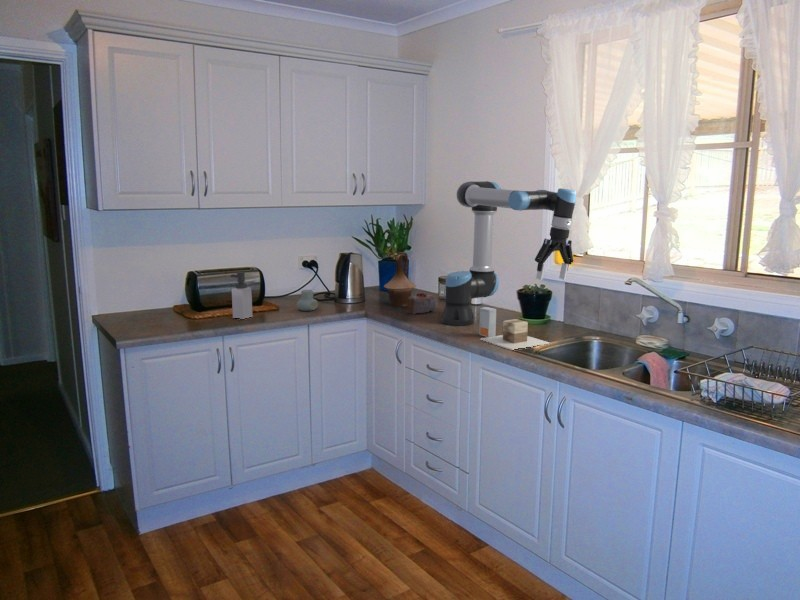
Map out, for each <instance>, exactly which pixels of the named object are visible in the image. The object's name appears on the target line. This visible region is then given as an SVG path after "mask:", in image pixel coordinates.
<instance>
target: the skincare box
mask: <svg viewBox="0 0 800 600" xmlns="http://www.w3.org/2000/svg"><path fill="white" fill-rule="evenodd" d="M478 329H479V332H478V333H479V336H482V337H484V338H487V337H493V336H497V335H496V333H497V331H496V330H497V308H492V307H488V306H485V307H484V306H483V307H480V308H479V328H478Z"/></svg>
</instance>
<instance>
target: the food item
mask: <svg viewBox="0 0 800 600" xmlns="http://www.w3.org/2000/svg"><path fill="white" fill-rule="evenodd" d="M436 302H437V301H436V299H435V298H434V297H433V295H431V294H426V293H422V292H421V293H420V292H419V293H416V295H414V296H411V297H409V298H408V305H407V306H406V307H407V308H406V309H407V310H406V313H408V314H410V313H412V314H411V315H417V314H416V313H420V314H426V312H427V313H430V312H429V311H431V312H433V311H435V309H436Z"/></svg>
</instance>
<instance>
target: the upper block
mask: <svg viewBox="0 0 800 600" xmlns="http://www.w3.org/2000/svg"><path fill="white" fill-rule="evenodd" d="M528 324H529V321H526V320H525V321H524V320H521V319H517V318H514V319H508V320H507V319H506V320H503V321H502V332H503V331H507V332H510V333H513V334H517V333H523V332H527V333H528V329H529V328H528V326H529V325H528Z"/></svg>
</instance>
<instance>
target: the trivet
mask: <svg viewBox="0 0 800 600" xmlns="http://www.w3.org/2000/svg"><path fill="white" fill-rule="evenodd" d="M482 340H483V341H482ZM480 341H482V342H485V341H486V343H488V342H489V343H488V344H491V343H492V344H491V345H495V346H498V347H499V348H500V347H501V348H504V349H507V350H509V351H512V350H514V349H518V348H525V349H527V348H526V347H531V348H534V347H533V346H537V345H542V346H545V345H544V344H548V345H550V344H549V343H550V342H549V341H546V340H542V339H539V338H535V337H534V336H529V335H527V341H526V342H520V343H511V342H508V341H505V340H503V334H500V335H499V334H498V335H495V336H493V337H481V338H480ZM537 347H538V346H537ZM514 351H515V350H514Z"/></svg>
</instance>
